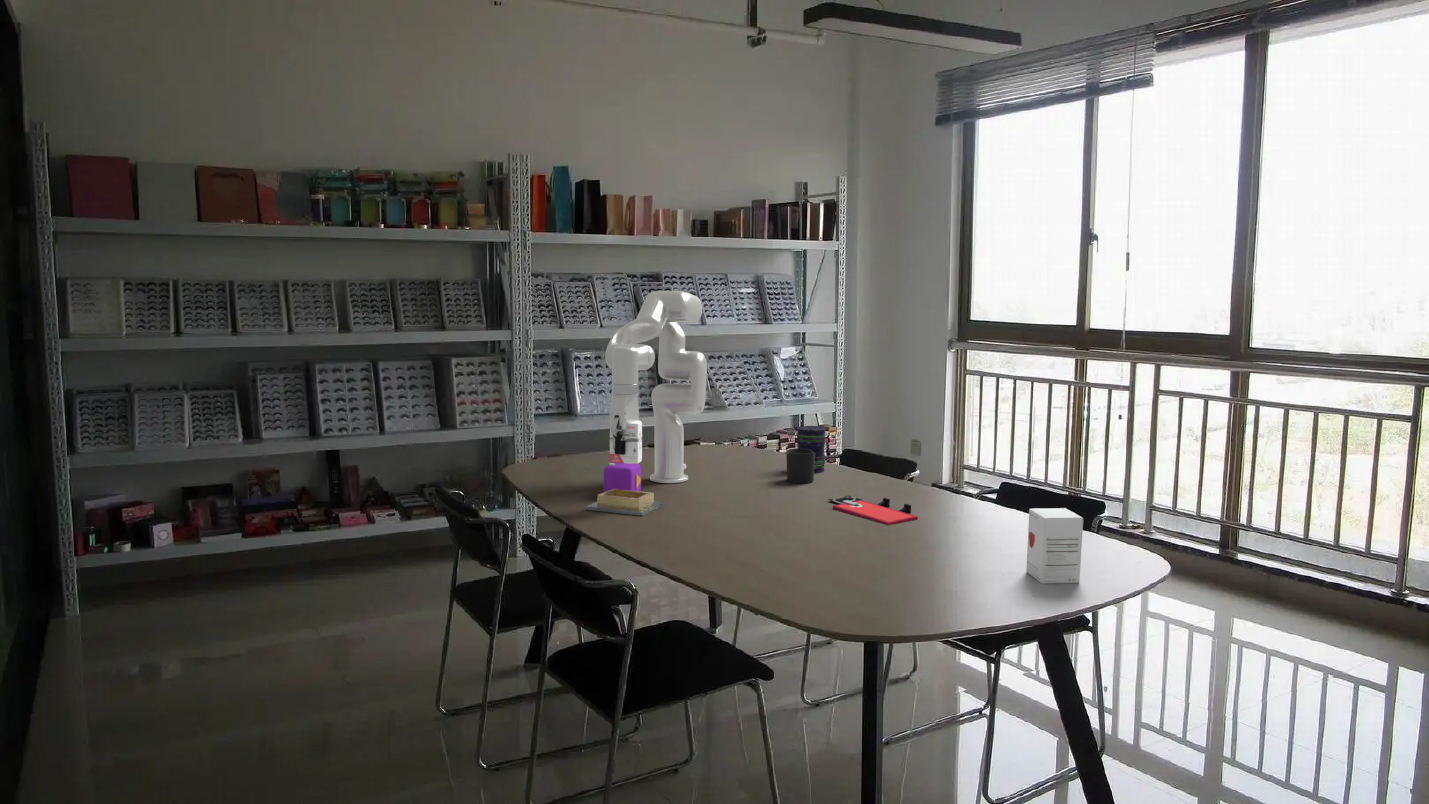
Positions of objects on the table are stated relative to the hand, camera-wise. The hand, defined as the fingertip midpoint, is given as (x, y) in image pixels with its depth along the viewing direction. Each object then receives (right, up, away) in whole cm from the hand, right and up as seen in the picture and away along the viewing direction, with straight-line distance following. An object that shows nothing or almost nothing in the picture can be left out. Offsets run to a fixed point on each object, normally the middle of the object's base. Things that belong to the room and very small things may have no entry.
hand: (625, 451), depth 279 cm
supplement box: (+101, -25, -61) cm, 121 cm away
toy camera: (-2, -14, +20) cm, 25 cm away
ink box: (0, -3, 0) cm, 3 cm away
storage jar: (+59, -10, +57) cm, 83 cm away
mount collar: (0, -16, +2) cm, 16 cm away
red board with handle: (+70, -18, +1) cm, 72 cm away
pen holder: (+54, -12, +40) cm, 68 cm away
